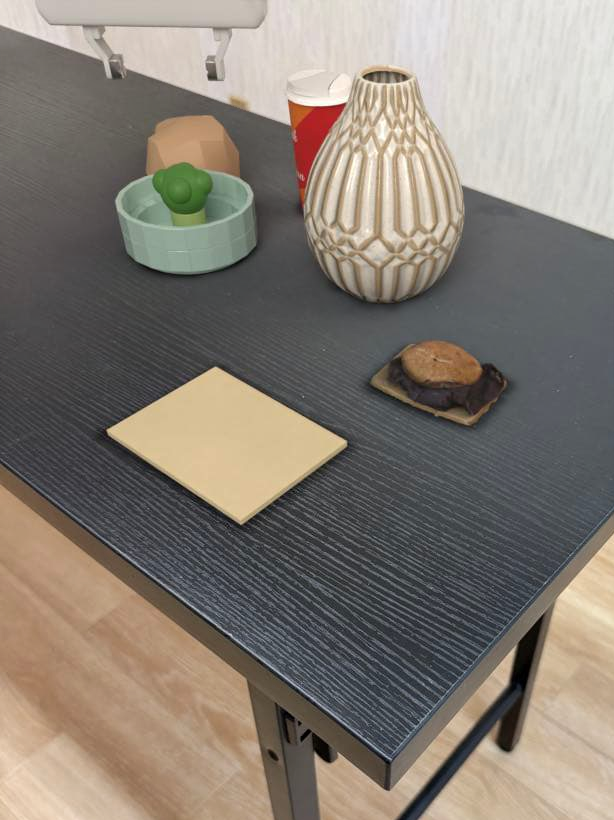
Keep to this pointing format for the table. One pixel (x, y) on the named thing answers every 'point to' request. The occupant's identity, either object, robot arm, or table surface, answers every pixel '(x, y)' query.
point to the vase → (384, 192)
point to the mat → (228, 443)
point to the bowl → (189, 227)
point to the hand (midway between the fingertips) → (167, 78)
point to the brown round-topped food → (441, 381)
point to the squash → (192, 145)
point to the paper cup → (313, 114)
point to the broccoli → (184, 192)
